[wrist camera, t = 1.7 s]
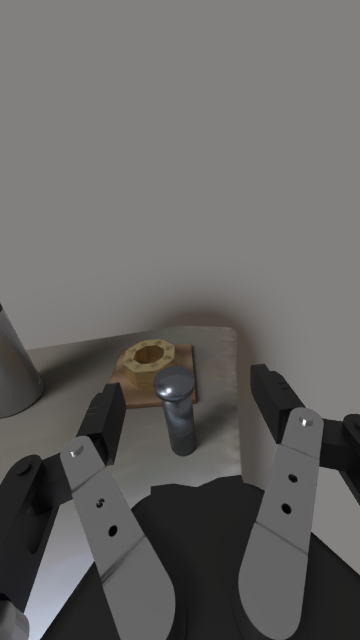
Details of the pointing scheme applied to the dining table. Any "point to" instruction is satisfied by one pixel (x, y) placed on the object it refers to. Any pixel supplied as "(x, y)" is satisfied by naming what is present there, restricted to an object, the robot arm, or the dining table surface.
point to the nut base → (150, 393)
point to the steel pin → (177, 406)
